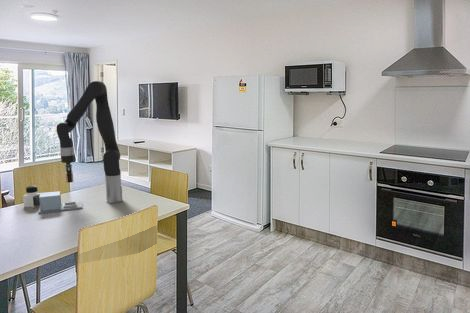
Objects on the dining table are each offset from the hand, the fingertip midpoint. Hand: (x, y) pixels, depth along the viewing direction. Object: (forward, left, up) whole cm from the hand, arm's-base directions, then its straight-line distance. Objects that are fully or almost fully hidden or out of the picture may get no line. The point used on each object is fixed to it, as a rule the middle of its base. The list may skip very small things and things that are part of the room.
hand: (70, 181), depth 223 cm
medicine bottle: (+21, -1, -13) cm, 25 cm away
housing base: (+5, +12, -13) cm, 19 cm away
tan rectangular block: (0, 0, 0) cm, 0 cm away
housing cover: (+11, +12, -12) cm, 20 cm away
